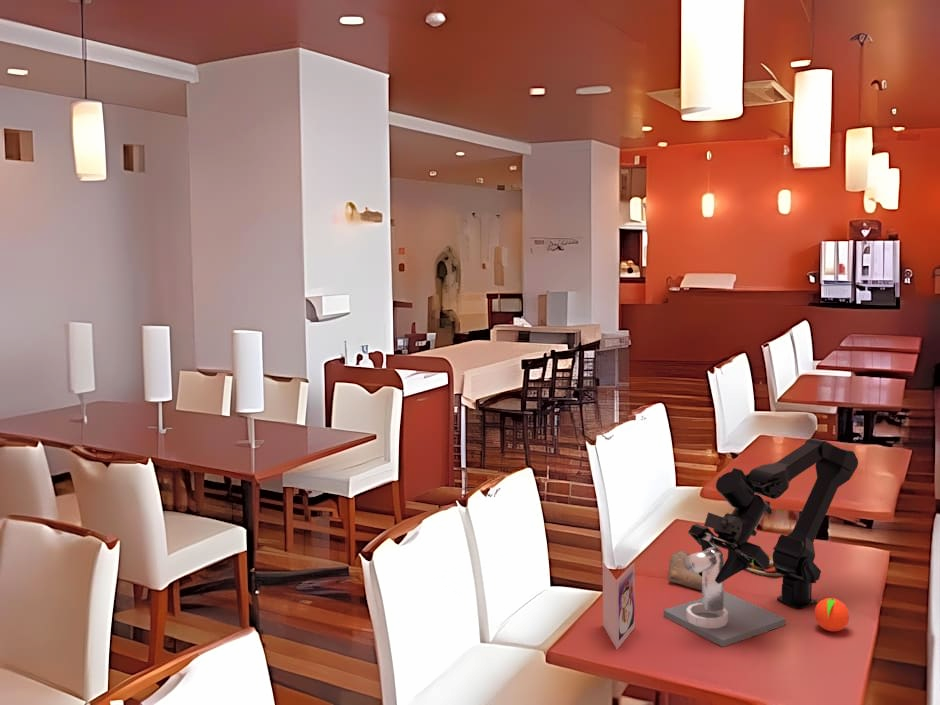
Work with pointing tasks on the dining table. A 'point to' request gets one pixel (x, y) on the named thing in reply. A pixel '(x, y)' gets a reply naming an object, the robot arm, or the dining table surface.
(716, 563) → the chrome ball-end rod
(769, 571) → the toy food set
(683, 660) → the dining table surface
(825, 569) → the dining table surface
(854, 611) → the dining table surface
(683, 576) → the pipe
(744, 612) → the duct flange
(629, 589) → the greeting card
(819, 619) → the clementine
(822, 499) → the robot arm
